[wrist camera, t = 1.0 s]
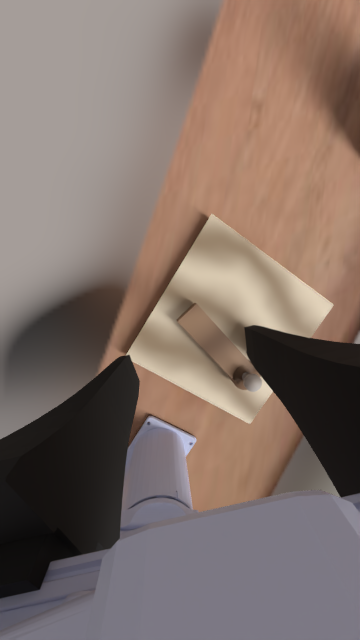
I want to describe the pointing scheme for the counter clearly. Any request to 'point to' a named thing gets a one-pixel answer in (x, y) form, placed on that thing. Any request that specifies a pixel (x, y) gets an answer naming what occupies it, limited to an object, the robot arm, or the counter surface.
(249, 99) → the counter surface
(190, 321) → the link
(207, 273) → the board
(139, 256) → the counter surface
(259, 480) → the counter surface
